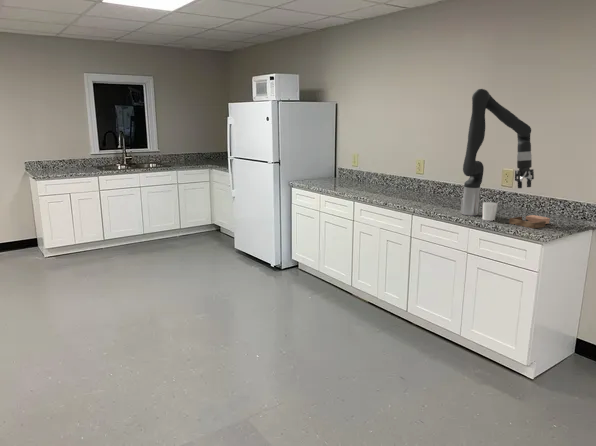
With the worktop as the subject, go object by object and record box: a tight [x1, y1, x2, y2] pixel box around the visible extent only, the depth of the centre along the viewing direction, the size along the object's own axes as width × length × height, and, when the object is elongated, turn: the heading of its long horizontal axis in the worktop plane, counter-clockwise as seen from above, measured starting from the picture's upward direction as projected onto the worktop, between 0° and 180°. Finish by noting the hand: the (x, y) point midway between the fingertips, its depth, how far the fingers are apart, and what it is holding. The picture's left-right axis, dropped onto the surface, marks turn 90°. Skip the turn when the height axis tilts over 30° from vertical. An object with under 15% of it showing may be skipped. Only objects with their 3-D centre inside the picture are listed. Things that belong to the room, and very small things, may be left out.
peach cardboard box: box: [524, 214, 551, 225], centre depth 265 cm, size 10×7×4 cm
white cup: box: [482, 201, 498, 222], centre depth 272 cm, size 8×8×10 cm
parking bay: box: [508, 216, 546, 229], centre depth 260 cm, size 15×10×3 cm
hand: (524, 187), depth 269 cm, fingers open, 8 cm apart
